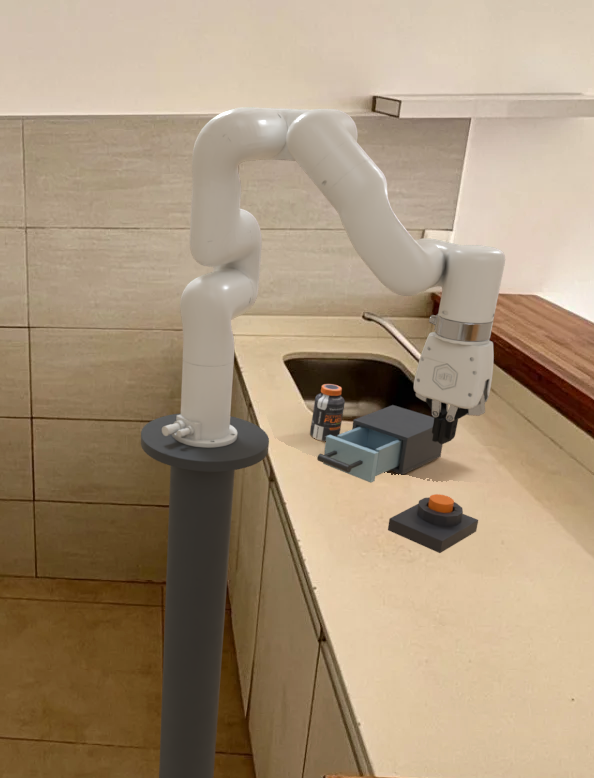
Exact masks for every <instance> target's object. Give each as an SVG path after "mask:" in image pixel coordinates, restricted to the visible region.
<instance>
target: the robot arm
mask: <svg viewBox="0 0 594 778" xmlns="http://www.w3.org/2000/svg"><path fill="white" fill-rule="evenodd" d="M358 134H359V133H358V128H357V125H356V121H354V119H353V118H352V117H351V116H350V115H349V114H348V113H347V112H345V111H343V110H340V109H336V108H314V109H303V108H302V109H301V108H299V109H298V108H276V107H253V106H251V107H250V106H249V107H248V106H246V107H236V108H231V109H228V110H225V111H223V112H221V113H218V114H217V115H216V116H214V117H213V118H211V119H210V120H209V121H208V122H207V123H205V124H204V126H203V127H202V128H201V130H200V131H199V133H198V134H197V136H196V140H195V141H194V144H193V145H194V146H193V149H192V154H191V155H192V156H191V174H192V177H191V178H192V181H191V183H192V185H191V197H190V200H191V202H190V223H189V249H190V254H191V256H192V258H193V259H194V261H195V262H196V263H197V264H199V265H201V266H204V267H209V268H210V267H211V268H212V271H210V272H208V273H204V274H201V275H199V276H197V277H196V278H193V279H192V280H191V281H190V282H189V283H187V285H186V286H185V287H184V289H183V291H182V293H181V295H180V296H181V297H180V301H179V312H180V319H181V326H182V327H181V328H182V366H181V367H182V368H181V369H182V371H181V390H180V391H181V392H180V394H181V396H180V413H181V414H180V413H179V414H180V415H177V419H176V421H175V422H174V423H173V424H170V425H167V426H164V427H162V433H163V435H164V436H169V435H172V436H173V438H175V439H176V440H177V441H179V442H181V443H183V444H186V445H189V446H194V447H201V448H216V447H223V446H227V445H229V444H231V443H233V442H234V441H236V439H237V430H236V429H235V428H234V427H233V426H232V425H230V416H231V412H232V397H233V381H234V367H235V365H234V364H235V338H234V333H233V328H232V320H234V319H237V318H238V317H240V316H243V315H244V314H246V313H248V312H249V311H250V310H252V308H253V306H254V305H255V303H256V301H257V298H258V295H259V287H260V276H261V261H262V244H263V235H262V230H261V227H260V224H259V222H258V220H257V218H256V217H255V216H254V214H252V213H251V212H250V211H248V210H246V209H244V208H241V199H242V182H241V176H240V173H239V166H240V165H241V164H242V163H245V162H255V161H266V160H269V161H270V160H272V161H273V160H275V161H291V162H296V164H298V166H299V167H300V168H301V170H302V171H303V172H304V173H305V174H306V175H307V177H308V178H309V179H310V180H311V181H312V182H313V184H314V186H316V188H317V189H318V190H319V191H320V192H321V194H323V196H324V197H325V198H326V200H327V201H328V202H329V203H330V205H331V206H332V208H333V209H334V210H335V211H336V212H337V214H338V216H339V218H340V219H339V220H340V222H341V224H342V226H343V228H344V230H345V232H346V234H347V237H348V239H349V242H350V243H351V245H352V246H353V249H354V250H355V252H356V253H357V255H358V256H359V257H360V259H361V260H362V261H363V262H364V264H365V265H366V266H367V267H368V269H369V270H370V271H371V272H372V274H373V275H374V276H375V277H376V278H377V280H378V281H379V282H380V283H381V284H382V285H383V286H384V287H385V288H386V289H387V290H389V291H391V292H392V293H394V294H396V295H398V296H402V297H413V296H418V295H420V294H422V293H424V292H427V290H429V289H433V288H436V287H439V288H440V287H441V288H442V290H441V295H440V302H439V307H438V313H437V314H436V315H434V314H431V315H430V316H429V319H428V323H429V324H432V325H433V326H434V329H433V331H432V332H429V333H428V336H427V338H426V340H425V342H424V345H423V348H422V351H421V354H420V358H419V360H418V364H417V367H416V371H415V375H414V381H413V391H414V392H415V398H418V399H419V400H421V401H423V402H425V403H426V404H427V405H428V407H429V409H430V411H431V415H432V416H431V417H434V423H433V428H432V434H433V439H432V441H434V442H439V443H440V444H443V445H444V444H447V443H449V442H451V441H452V440H453V439H454V438H455V437H456V434H457V433H456V432H457V428H458V422H459V419H461V418H463V417H465V416H472V417H473V416H475V417H480V416H482V415H485V414H486V404H485V403H487V402H488V400H489V396H490V392H491V387H492V383H493V373H494V359H495V358H494V357H495V356H494V354H495V353H494V342H493V341H491V340H490V339H491V335H492V329H493V324H494V318H495V314H496V308H497V303H498V299H499V293H500V289H501V284H502V279H503V274H504V269H505V264H506V255H505V253H504V252H503V251H502V250H501V249H500V248H498V247H493V246H488V245H482V244H481V245H479V244H457V243H452V242H449V241H444V240H440V239H436V238H431V237H430V238H429V237H428V238H427V237H425V238H424V237H423V238H417V239H415V238H414V237H413V236H412V235H411V233H410V232H409V231H408V230H407V229H406V227H405V226H404V224H402V222H401V221H400V220H399V218H398V216H397V215H396V214H395V212H394V210H393V208H392V206H391V203H390V199H389V193H388V192H389V191H388V181H387V178H386V176H385V174H384V172H383V171H382V170H381V169H380V167H378V165H377V164H376V162H375V161H373V159H372V158H371V157H370V156H369V154H367V152H366V151H365V150H364V149H363V147H361V145H360V144H359V142H358V138H359V135H358Z"/></svg>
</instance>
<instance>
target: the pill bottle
mask: <svg viewBox="0 0 594 778" xmlns="http://www.w3.org/2000/svg"><path fill="white" fill-rule="evenodd" d="M342 391H343V388H342V386H339V385H337V384H334V383H324V384H322V385H321V389H320V393H318V394H316V396H315V399H314V404H313V410H312V417H311V423H310V430H309V435H310V436H311V438H313V439H314V438H315V440H317V441H321V442H325V441H326V436H328V435H332V436H335V437H337V435H339V434H341V429H342V421H343V416H344V411H345V403H346V401H345V399H344V397H343V396H342Z"/></svg>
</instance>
